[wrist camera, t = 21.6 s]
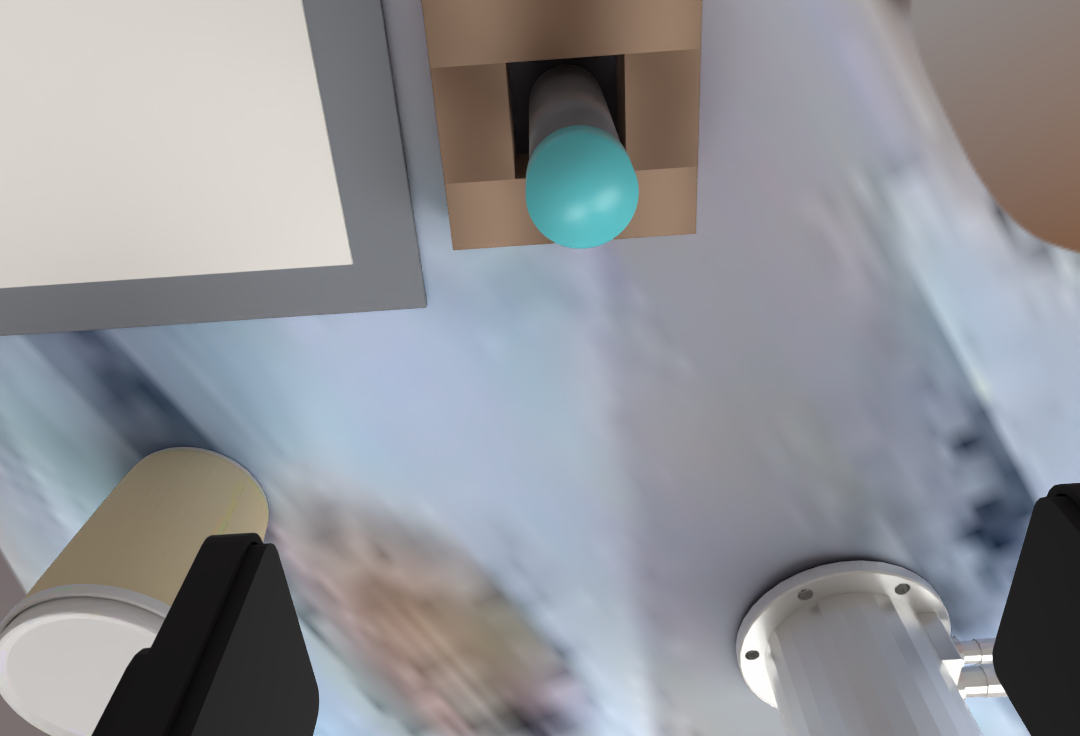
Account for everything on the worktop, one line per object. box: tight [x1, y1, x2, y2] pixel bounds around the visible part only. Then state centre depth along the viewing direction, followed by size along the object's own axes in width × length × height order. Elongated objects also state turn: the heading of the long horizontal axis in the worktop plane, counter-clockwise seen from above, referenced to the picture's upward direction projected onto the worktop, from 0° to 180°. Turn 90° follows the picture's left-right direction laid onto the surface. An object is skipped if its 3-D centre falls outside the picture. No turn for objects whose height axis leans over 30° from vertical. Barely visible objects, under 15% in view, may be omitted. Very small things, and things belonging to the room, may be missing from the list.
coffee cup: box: [0, 447, 269, 736], centre depth 40 cm, size 9×9×12 cm
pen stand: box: [421, 0, 702, 250], centre depth 33 cm, size 10×10×4 cm
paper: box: [0, 0, 353, 288], centre depth 35 cm, size 18×13×1 cm
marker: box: [526, 65, 639, 248], centre depth 29 cm, size 3×3×13 cm
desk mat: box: [0, 0, 427, 336], centre depth 35 cm, size 24×18×1 cm
